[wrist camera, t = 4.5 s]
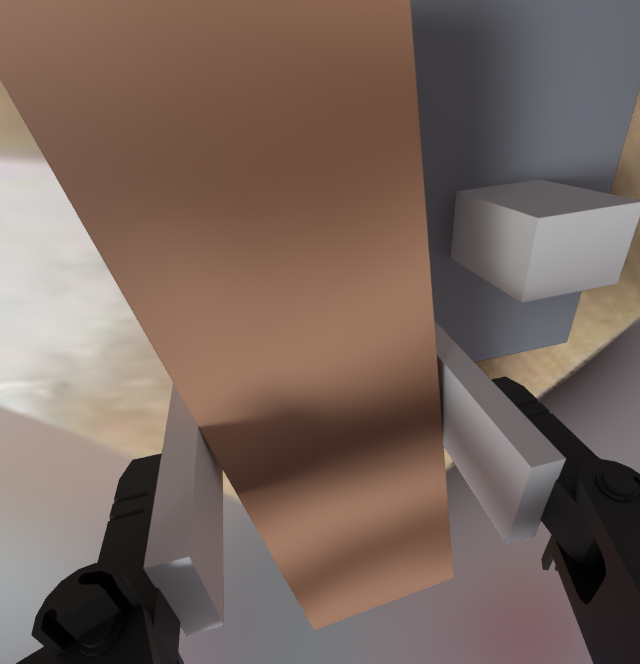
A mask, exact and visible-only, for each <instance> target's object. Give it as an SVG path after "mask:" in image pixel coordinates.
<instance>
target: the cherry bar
mask: <svg viewBox="0 0 640 664" xmlns="http://www.w3.org/2000/svg"><path fill="white" fill-rule="evenodd" d="M0 80H1V81H2V83H3V85H4V87H5V88H6V90H7V92H8V94H9V95H10V97H11V99H12V101H13V102H14V104H15V106H16V108H17V109H18V111H19V113H20V115H21V116H22V118H23V120H24V122H25V123H26V125H27V127H28V129H29V131H30V132H31V134H32V136H33V138H34V139H35V141H36V143H37V145H38V146H39V148H40V150H41V152H42V153H43V155H44V157H45V159H46V160H47V162H48V164H49V166H50V167H51V169H52V171H53V173H54V174H55V176H56V178H57V180H58V181H59V183H60V185H61V187H62V188H63V190H64V192H65V194H66V195H67V197H68V199H69V201H70V202H71V204H72V206H73V208H74V209H75V211H76V213H77V215H78V216H79V218H80V220H81V222H82V223H83V225H84V227H85V229H86V230H87V232H88V234H89V236H90V237H91V239H92V241H93V243H94V244H95V246H96V248H97V250H98V251H99V253H100V255H101V257H102V258H103V260H104V262H105V264H106V265H107V267H108V269H109V271H110V272H111V274H112V276H113V278H114V280H115V281H116V283H117V285H118V287H119V288H120V290H121V292H122V294H123V295H124V297H125V299H126V301H127V302H128V304H129V306H130V308H131V309H132V311H133V313H134V315H135V316H136V318H137V320H138V322H139V323H140V325H141V327H142V329H143V330H144V332H145V334H146V336H147V337H148V339H149V341H150V343H151V344H152V346H153V348H154V350H155V351H156V353H157V355H158V357H159V358H160V360H161V362H162V364H163V365H164V367H165V369H166V371H167V372H168V374H169V376H170V378H171V379H172V381H173V383H174V385H175V386H176V388H177V390H178V392H179V393H180V395H181V397H182V399H183V400H184V402H185V404H186V406H187V407H188V409H189V411H190V413H191V414H192V416H193V418H194V420H195V422H196V423H197V425H198V427H199V429H200V430H201V432H202V434H203V436H204V437H205V439H206V441H207V443H208V444H209V446H210V448H211V450H212V451H213V453H214V455H215V457H216V458H217V460H218V462H219V464H220V465H221V467H222V469H223V471H224V472H225V474H226V476H227V478H228V479H229V481H230V483H231V485H232V486H233V488H234V490H235V492H236V493H237V495H238V497H239V499H240V500H241V502H242V504H243V506H244V507H245V509H246V511H247V513H248V514H249V516H250V518H251V520H252V521H253V523H254V525H255V527H256V528H257V530H258V532H259V534H260V535H261V537H262V539H263V541H264V542H265V544H266V546H267V548H268V549H269V551H270V553H271V555H272V556H273V558H274V560H275V562H276V563H277V565H278V567H279V569H280V570H281V572H282V574H283V576H284V577H285V579H286V581H287V583H288V585H289V586H290V588H291V590H292V592H293V593H294V595H295V597H296V599H297V600H298V602H299V604H300V605H301V607H302V609H303V611H304V613H305V614H306V616H307V618H308V620H309V621H310V623H311V625H312V626H313V628H314V630H316V629H318V628H321V627H324V626H326V625H329V624H332V623H334V622H337V621H340V620H342V619H345V618H347V617H350V616H353V615H356V614H358V613H361V612H364V611H366V610H369V609H372V608H374V607H377V606H379V605H382V604H384V603H387V602H390V601H393V600H395V599H398V598H401V597H403V596H406V595H408V594H411V593H414V592H417V591H419V590H422V589H425V588H427V587H430V586H433V585H435V584H438V583H441V582H443V581H446V580H448V579H451V578H453V566H452V553H451V540H450V526H449V513H448V500H447V486H446V473H445V460H444V446H443V433H442V420H441V406H440V393H439V379H438V366H437V353H436V339H435V326H434V313H433V299H432V286H431V273H430V259H429V246H428V233H427V219H426V206H425V193H424V179H423V166H422V153H421V139H420V126H419V113H418V99H417V86H416V73H415V59H414V46H413V33H412V19H411V6H410V0H0Z"/></svg>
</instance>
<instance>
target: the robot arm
mask: <svg viewBox="0 0 640 664" xmlns="http://www.w3.org/2000/svg"><path fill="white" fill-rule="evenodd" d="M434 326H435V339H436V353H437V366H438V379H439V393H440V406H441V420H442V433H443V446H444V447H445V449H446V450H447V452H448V454H449V455H450V457H451V458H452V460H453V461H454V463H455V465H456V466H457V468H458V469H459V471H460V472H461V474H462V476H463V477H464V479H465V480H466V482H467V483H468V485H469V487H470V488H471V490H472V491H473V493H474V494H475V496H476V498H477V499H478V501H479V502H480V504H481V505H482V507H483V508H484V510H485V512H486V513H487V515H488V516H489V518H490V519H491V521H492V522H493V524H494V525H495V527H496V529H497V530H498V532H499V534H500V535H501V537H502V538H503V540H504V541H505V543H506V544H507V543H511V542H514V541H517V540H521V539H525V538H528V537H532V536H535V535H536V532H537V530H538V527H539V525H540V522H541V521H542V522H543V524H544V525H545V526H546V528H547V529H548V530H549V532H550V533H551V534H552V535H551V537H550V540H549V542H548V544H547V546H546V549H545V551H544V554H543V557H542V565H543V570H548V569H549V567H550V565H551V563H552V561H553V559H554V562H555V564H556V566H555V570H556V571H558V572H559V575H560V578H561V580H562V583H563V585H564V588H565V591H566V593H567V596H568V598H569V601H570V604H571V606H572V609H573V612H574V614H575V617H576V619H577V622H578V625H579V627H580V630H581V633H582V635H583V638H584V640H585V643H586V646H587V648H588V651H589V654H590V656H591V659H592V661H593V664H640V474H639V473H637V472H636V471H634V470H633V469H631V468H630V467H627V466H625V465H623V464H620V463H618V462H615V461H609V460H603V459H600V458H599V457H597V456H596V455H595V454H594V453H593V452H592V451H591V450H590V449H589V448H588V447H587V446H585V445H584V444H583V443H582V442H581V441H580V440H579V439H578V438H577V437H576V436H575V435H574V434H573V433H572V432H571V431H570V430H569V429H568V428H567V427H566V426H565V425H564V424H563V423H562V422H560V421H559V420H558V419H557V418H556V417H555V416H554V415H553V414H550V413H549V410H548V409H547V408H546V407H545V406H544V405H543V404H542V403H541V402H540V403H539V402H538V399H536V398H535V397H534V396H533V395H532V394H531V393H530V392H529V391H528V390H527V389H526V388H525V387H524V386H522V385H520V384H518V383H517V382H515V381H513V380H511V379H509V378H507V377H501V378H496V379H492V380H490V378H489V377H488V376H487V375H486V374H485V373H484V372H483V371H482V370H481V369H480V368H479V367H478V366H477V365H476V364H475V363H474V362H473V361H472V360H471V359H470V357H469V356H468V355H467V354H466V353H465V352H464V351H463V350H462V349H461V348H460V347H459V346H458V345H457V344H456V343H455V342H454V341H453V340H452V339H451V338H450V336H449V335H448V334H447V333H446V332H445V331H444V330H443V329H442V328H441V327H440V326H439V325H438V324H437V323H436V322H435V321H434ZM223 582H224V579H223V469H222V467H221V465H220V464H219V462H218V460H217V458H216V457H215V455H214V453H213V451H212V450H211V448H210V446H209V444H208V443H207V441H206V439H205V437H204V436H203V434H202V432H201V430H200V429H199V427H198V425H197V423H196V422H195V420H194V418H193V416H192V414H191V413H190V411H189V409H188V407H187V406H186V404H185V402H184V400H183V399H182V397H181V395H180V393H179V392H178V390H177V388H176V386H175V385H174V383H173V388H172V394H171V400H170V406H169V413H168V419H167V425H166V431H165V437H164V444H163V450H162V453H161V454H157V455H152V456H148V457H143V458H139V459H134V460H132V461H131V463H130V464H129V466H128V467H127V469H126V470H125V472H124V473H123V475H122V476H121V477H120V479H119V482H118V486H117V490H116V494H115V497H114V504H113V505H112V509H111V513H110V521H108V524H107V529H106V532H105V536H104V540H103V543H102V548H101V552H100V555H99V559H98V563H94V564H92V565H89V566H86V567H84V568H81V569H78V570H77V571H75V572H74V573H72V574H71V575H70V576H68V577H67V578H65V579H64V580H62V581H61V582H60V583H59V584H58V585H57V587H56V588H55V589H54V590H53V591H52V592H51V593H50V594H49V595H48V596H47V598H46V599H45V601H44V603H43V605H42V606H41V608H40V610H39V612H38V613H37V615H36V617H35V622H34V626H33V630H32V636H33V637H34V638H35V639H37V640H38V641H39V642H40V643H41V644H42V645H43V646H44V647H42V648H41V649H39V650H38V651H36V652H34V653H33V654H31V655H29V656H28V657H26V658H24V659H23V660H21V661H19V662H18V663H16V664H184V662H183V660H182V658H181V656H180V654H179V652H178V647H179V634H180V626H181V628H182V629H183V631H184V633H185V634H186V636H188V635H192V634H195V633H199V632H202V631H205V630H209V629H213V628H216V627H220V626H223V625H224V587H223V586H224V583H223Z"/></svg>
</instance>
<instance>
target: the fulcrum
mask: <svg viewBox="0 0 640 664" xmlns="http://www.w3.org/2000/svg"><path fill="white" fill-rule="evenodd" d="M410 6H411V19H412V33H413V46H414V59H415V73H416V86H417V99H418V113H419V126H420V139H421V153H422V166H423V179H424V193H425V206H426V219H427V233H428V246H429V259H430V273H431V286H432V299H433V313H434V321H435V322H436V323H437V324H438V325H439V326H440V327H441V328H442V329H443V330H444V331H445V332H446V333H447V334H448V335H449V336H450V338H451V339H452V340H453V341H454V342H455V343H456V344H457V345H458V346H459V347H460V348H461V349H462V350H463V351H464V352H465V353H466V354H467V355H468V356H469V357H470V359H471V360H472V361H473V362H478V361H483V360H487V359H492V358H496V357H501V356H506V355H510V354H515V353H520V352H524V351H529V350H533V349H538V348H543V347H547V346H552V345H557V344H561V343H566V342H567V340H568V336H569V333H570V329H571V326H572V322H573V319H574V315H575V312H576V308H577V305H578V301H579V298H580V294H581V291H583V290H588V289H593V288H599V287H604V286H609V285H614V284H617V283H618V280H619V277H620V274H621V271H622V268H623V265H624V262H625V259H626V256H627V253H628V250H629V247H630V244H631V241H632V238H633V235H634V232H635V229H636V226H637V223H638V220H639V217H640V200H637V199H632V198H627V197H622V196H617V195H613V194H609V193H610V190H611V186H612V183H613V179H614V176H615V172H616V169H617V165H618V162H619V158H620V155H621V151H622V148H623V144H624V141H625V137H626V134H627V130H628V127H629V124H630V120H631V117H632V113H633V110H634V106H635V103H636V99H637V96H638V92H639V89H640V0H410Z"/></svg>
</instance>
